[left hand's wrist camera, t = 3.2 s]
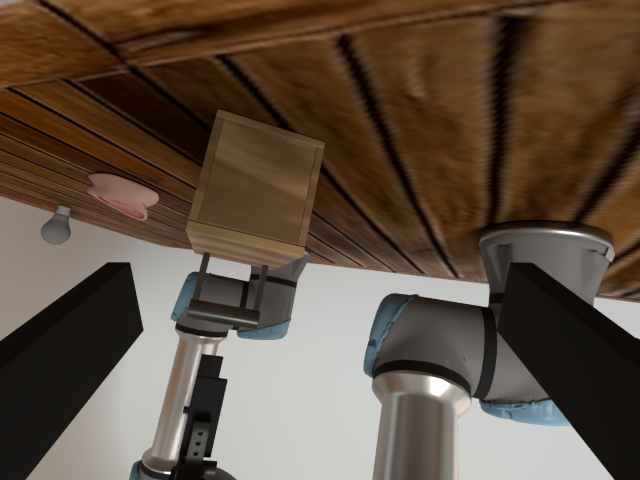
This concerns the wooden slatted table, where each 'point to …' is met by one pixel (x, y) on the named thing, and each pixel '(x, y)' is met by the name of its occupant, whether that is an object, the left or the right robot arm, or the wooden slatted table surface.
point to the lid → (242, 251)
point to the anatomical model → (123, 194)
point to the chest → (258, 180)
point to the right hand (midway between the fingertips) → (212, 364)
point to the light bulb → (57, 227)
